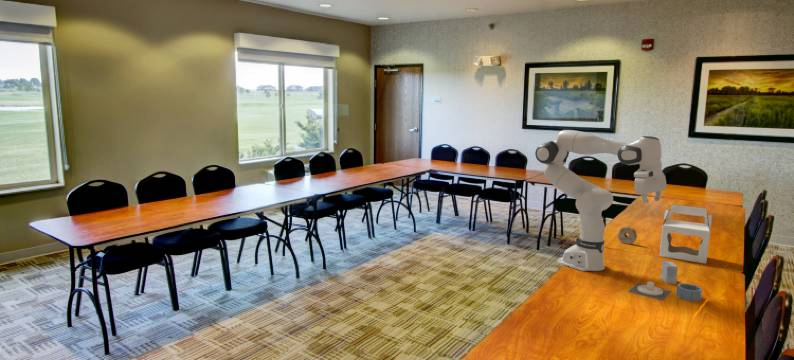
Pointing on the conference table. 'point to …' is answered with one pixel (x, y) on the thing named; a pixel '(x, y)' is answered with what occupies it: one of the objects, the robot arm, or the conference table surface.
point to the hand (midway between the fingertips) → (651, 202)
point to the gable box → (686, 229)
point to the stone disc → (623, 236)
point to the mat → (661, 297)
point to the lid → (650, 289)
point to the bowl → (689, 292)
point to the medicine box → (669, 272)
